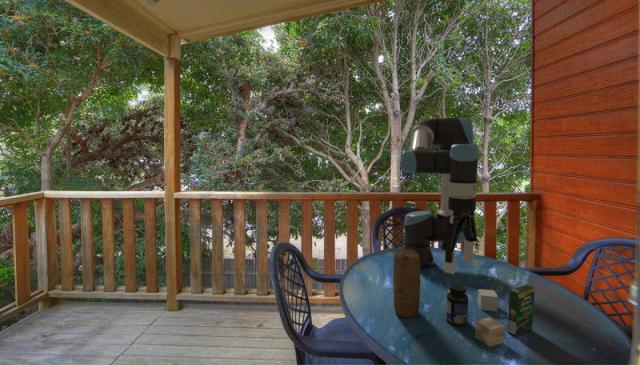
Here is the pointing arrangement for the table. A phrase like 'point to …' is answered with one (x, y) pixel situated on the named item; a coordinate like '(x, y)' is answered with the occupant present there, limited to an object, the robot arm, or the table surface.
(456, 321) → the pill bottle
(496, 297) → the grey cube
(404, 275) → the block
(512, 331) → the coffee box
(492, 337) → the birch cube
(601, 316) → the table surface
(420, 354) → the table surface
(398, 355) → the table surface
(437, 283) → the table surface
